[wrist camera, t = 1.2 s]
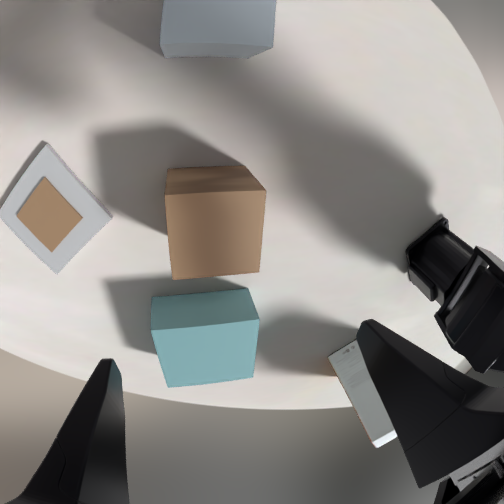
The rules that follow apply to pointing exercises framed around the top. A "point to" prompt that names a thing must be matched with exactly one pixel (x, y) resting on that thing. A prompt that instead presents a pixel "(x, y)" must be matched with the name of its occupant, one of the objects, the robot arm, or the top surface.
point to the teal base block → (205, 336)
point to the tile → (53, 210)
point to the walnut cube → (214, 221)
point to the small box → (362, 393)
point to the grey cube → (217, 28)
